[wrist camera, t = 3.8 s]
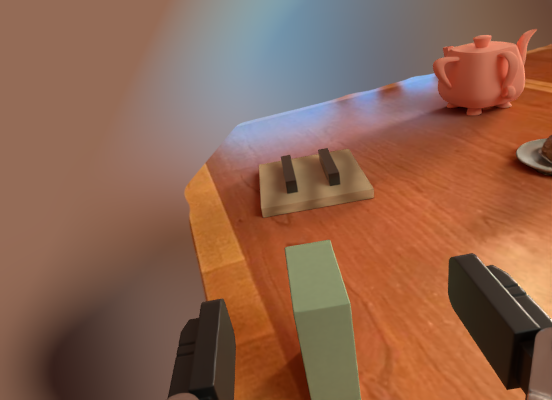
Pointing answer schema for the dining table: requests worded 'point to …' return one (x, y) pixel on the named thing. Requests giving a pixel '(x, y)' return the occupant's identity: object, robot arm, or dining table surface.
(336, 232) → the dining table surface
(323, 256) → the green rectangular block
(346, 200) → the seat base
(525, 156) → the pastry
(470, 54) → the teapot
